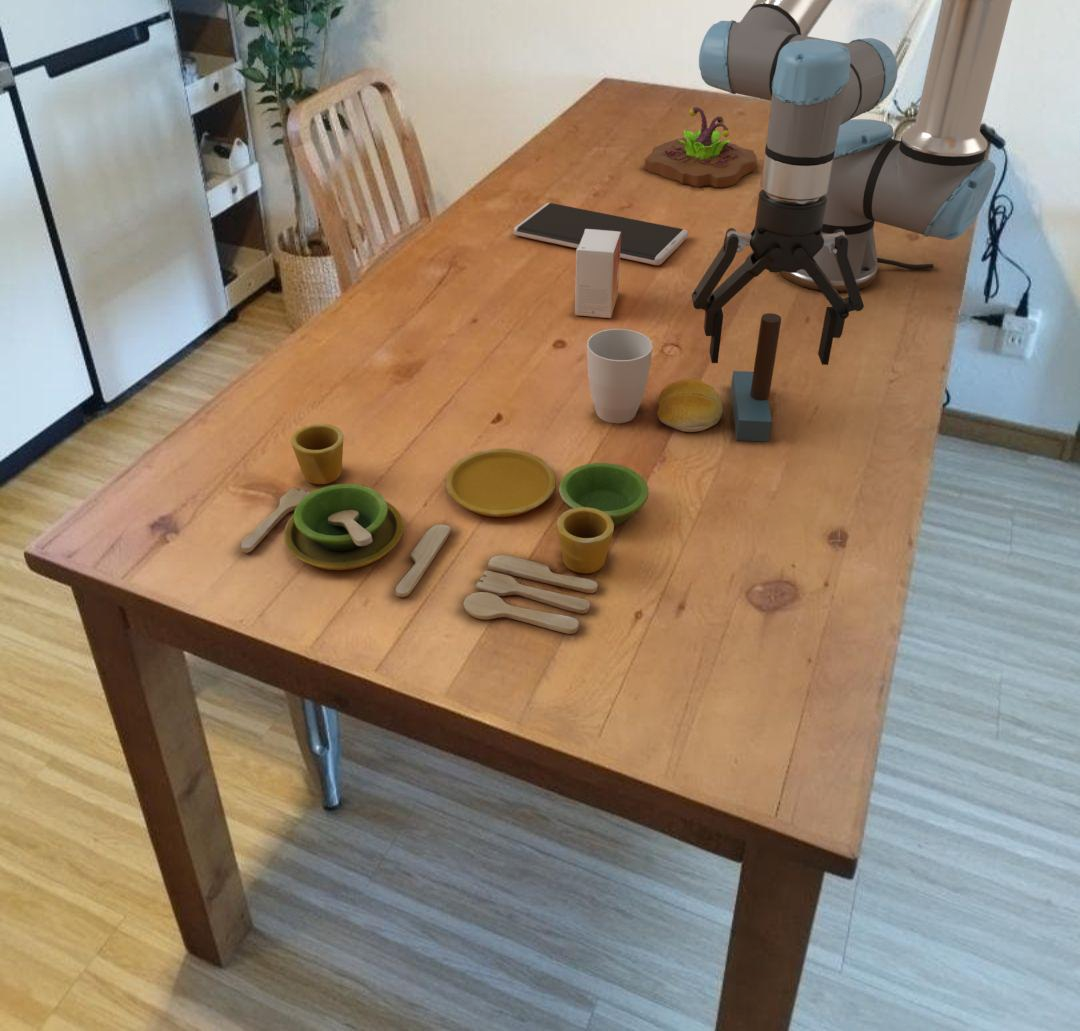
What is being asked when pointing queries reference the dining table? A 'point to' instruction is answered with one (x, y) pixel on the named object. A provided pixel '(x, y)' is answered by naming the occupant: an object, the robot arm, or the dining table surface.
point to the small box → (597, 273)
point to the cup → (618, 372)
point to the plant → (702, 157)
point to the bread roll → (689, 405)
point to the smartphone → (571, 222)
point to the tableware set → (476, 484)
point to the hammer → (756, 386)
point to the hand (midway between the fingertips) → (768, 358)
